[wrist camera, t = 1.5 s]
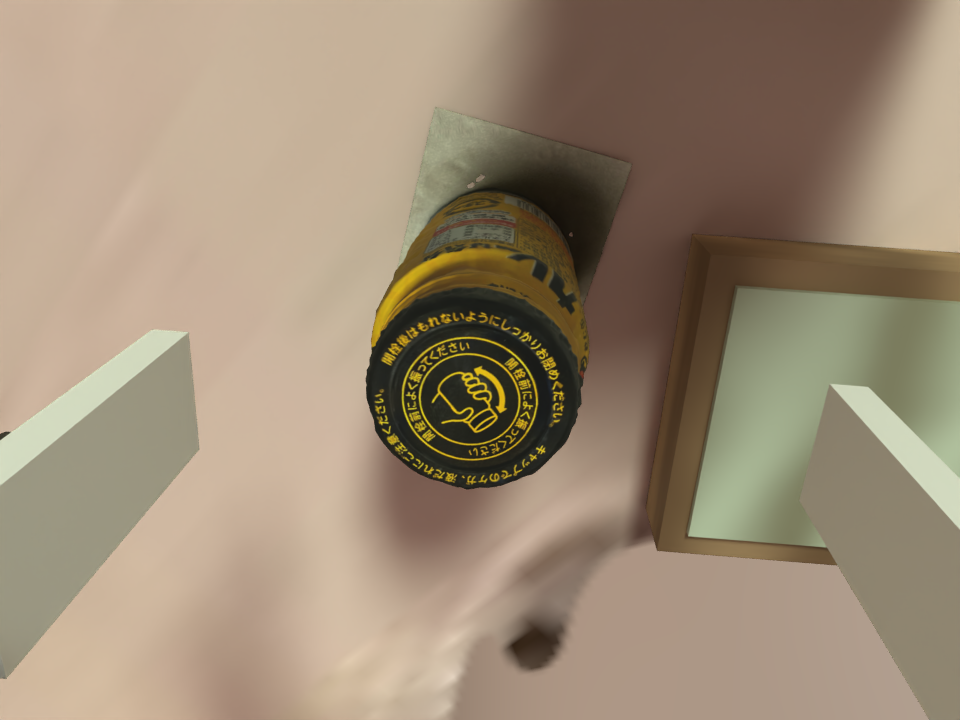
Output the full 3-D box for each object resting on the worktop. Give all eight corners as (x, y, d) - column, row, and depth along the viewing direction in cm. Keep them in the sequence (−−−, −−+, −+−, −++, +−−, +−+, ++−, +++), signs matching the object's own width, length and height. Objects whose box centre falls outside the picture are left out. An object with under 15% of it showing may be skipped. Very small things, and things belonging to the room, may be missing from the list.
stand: (645, 508, 33) (658, 555, 30) (692, 233, 28) (713, 256, 25) (927, 530, 32) (968, 580, 29) (1020, 257, 28) (1082, 283, 25)
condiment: (385, 322, 30) (305, 482, 19) (435, 106, 27) (374, 147, 16) (560, 369, 30) (582, 553, 19) (631, 162, 27) (705, 241, 16)
